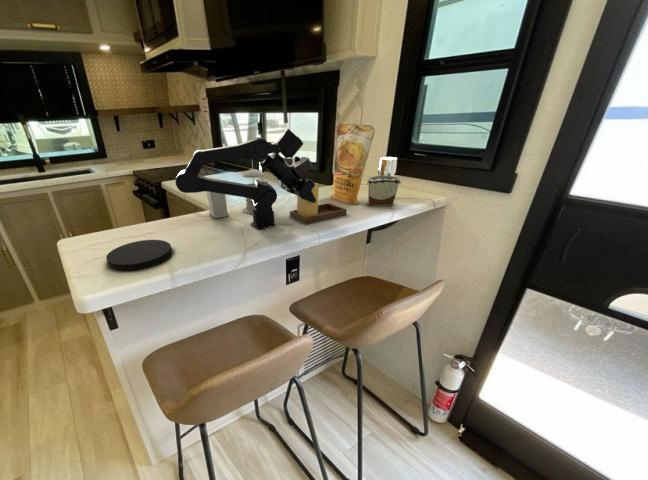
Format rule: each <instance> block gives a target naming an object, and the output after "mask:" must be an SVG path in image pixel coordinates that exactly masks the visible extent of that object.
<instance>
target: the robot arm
mask: <svg viewBox="0 0 648 480" xmlns="http://www.w3.org/2000/svg"><path fill="white" fill-rule="evenodd" d="M303 146H304V142H303V141H302V139H301V138H300V137H299V136H298V135H296V134H295V133H294V132H293V131H292V130H291V129H290V128H286V129H284V131H283V133H282V135H281V136H280V137H279V139H278V140H277V141H267V140H266V139H264V138H262V137H259V136H257V137H254V138H250V139H248V140H245V141H243V142H241V143H238V144H234V145H233V144H232V145H227V146H221V147H220V146H219V147H214V148H207V149H197V150H196V151H194V153H193V155H192V157H191V160H190V161H189V163H188V165H186V168H185V169H182V170H180V171H179V173H178V174H177V176H176V177H175V186H176V188H177V189H178V191H179V192H182V193H184V194H194V193H195V194H197V193H203V192H206V191H207V192H214V193H220V194H225V195H227V196H233V197H241V198H245V197H246V199H247V198H250V199H252V201H253V204H254V206H255V207H254V208H252V212H253V214H252V220H253V221H252V222H251V225H252V226H253V227H254V228H256V229H258V230H263V229H267V228H271V227H275V226H276V223H275V211H274V210H273V205H274V204H275V202H276V201H277V199H278V192H277V191H276V189H275V188H274V187H273V186H272V185H271V184H270V183H269V182H268V181H264V182H263V181H262V180H259V179H254V183H255V184H252V183H250V184H251V185H248V184H249V183H241V182H237V181H236V182H235V181H228V180H224V179H217V178H210V177H206V176H204V175H202V174H201V173H200V171H201V170H202V168H203V166H205V165H207V164H215V163H219V162H220V163H221V162H227V161H232V160H240V159H246V160H259V162H258V164H259V168H258V169H259V170H258V171H261V172H262V173H264V174H265V172H266V171H267V170H268V172H269V173H271V174H272V176H274V177H275V179H276V181H278V186H279V187H280V188H281V189H282V190H284V191H286V192H288V193H290V194H292V195H295V196H296V197H297V196H298V197H299V198H301V199H304V200H307V201H310V202H313V203H315V202H316V199H315V197H314V195H313V193H312V189H313V187H314V186H315V183H316V182H315V181H313V179H311V178H308V177H304V174H305V173H306V172H308V171H309V170H312V169H313V165H312V161H311V160H310V158H309V157H307V156H301V157H300V156H297V155H296V154H297V153H298V152H299V150H300V149H301V148H302V147H303ZM281 155H282V156H283V157H284V158H285V159H286V160H288V159H292V163H291V165H290V164H289V163H288V162H287V161H286V160H285V159H284V158H283V157H282V156H281ZM295 155H296V156H295ZM260 160H263V161H260ZM199 173H200V174H199ZM303 177H304V178H303ZM301 179H302V180H301ZM258 180H259V181H258ZM207 192H206V193H207Z"/></svg>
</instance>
